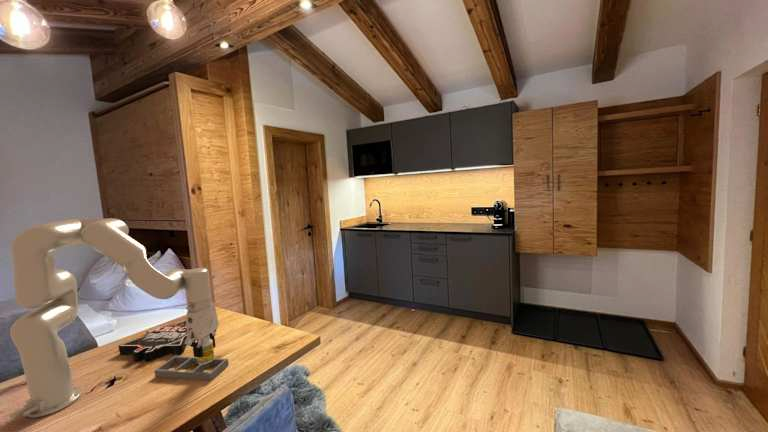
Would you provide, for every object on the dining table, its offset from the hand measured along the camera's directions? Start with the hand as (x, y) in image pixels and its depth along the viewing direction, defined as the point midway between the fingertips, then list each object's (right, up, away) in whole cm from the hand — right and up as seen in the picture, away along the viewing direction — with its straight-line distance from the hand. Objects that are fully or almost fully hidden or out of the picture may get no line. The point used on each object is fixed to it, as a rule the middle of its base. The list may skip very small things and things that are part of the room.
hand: (205, 351), depth 111 cm
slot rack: (-6, -8, +3) cm, 11 cm away
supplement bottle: (0, -4, 0) cm, 4 cm away
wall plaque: (-31, -7, +25) cm, 41 cm away
